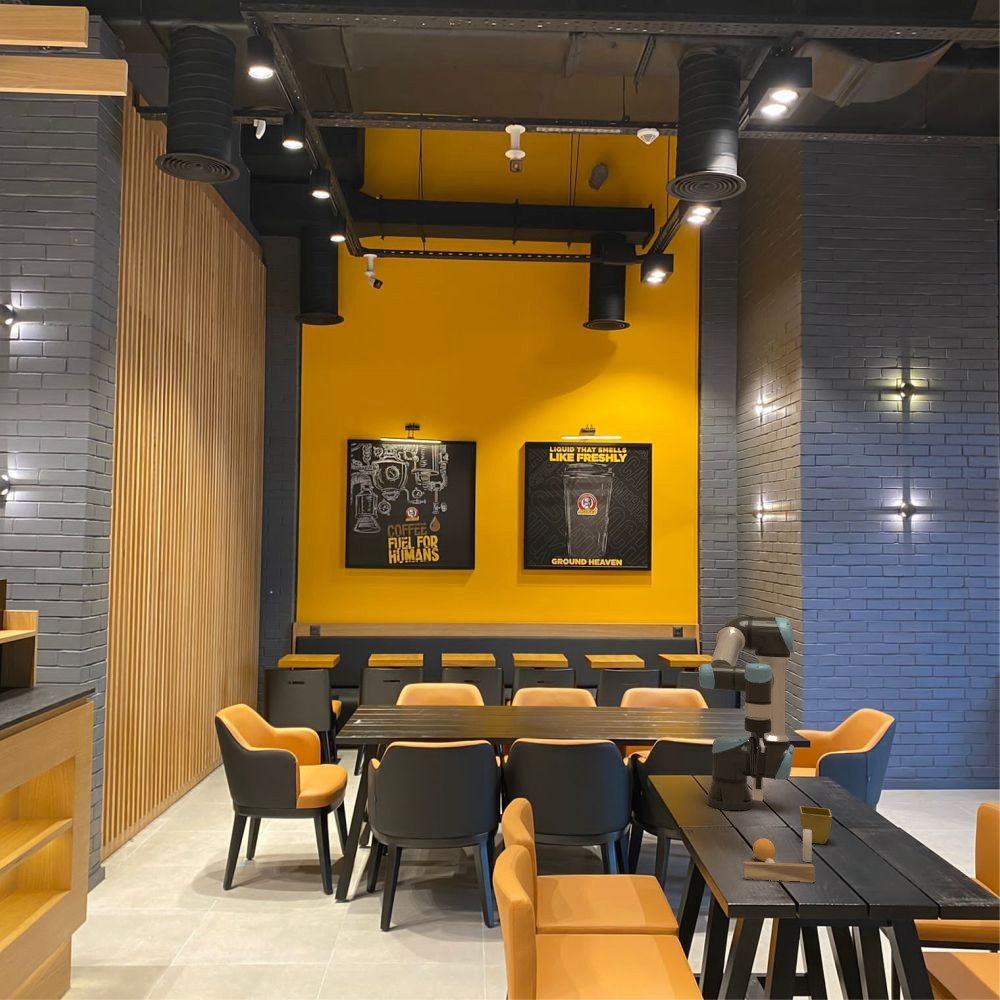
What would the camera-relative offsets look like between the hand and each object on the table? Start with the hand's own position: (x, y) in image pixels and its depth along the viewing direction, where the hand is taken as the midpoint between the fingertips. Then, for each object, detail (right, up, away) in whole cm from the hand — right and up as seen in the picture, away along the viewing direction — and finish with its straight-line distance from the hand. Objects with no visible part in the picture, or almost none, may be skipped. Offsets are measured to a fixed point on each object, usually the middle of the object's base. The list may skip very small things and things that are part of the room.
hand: (757, 799), depth 262 cm
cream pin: (-1, -12, -15) cm, 19 cm away
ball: (-1, -11, -10) cm, 15 cm away
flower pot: (+20, -16, +9) cm, 27 cm away
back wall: (-1, -13, -25) cm, 28 cm away
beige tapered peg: (+11, -14, -9) cm, 20 cm away
